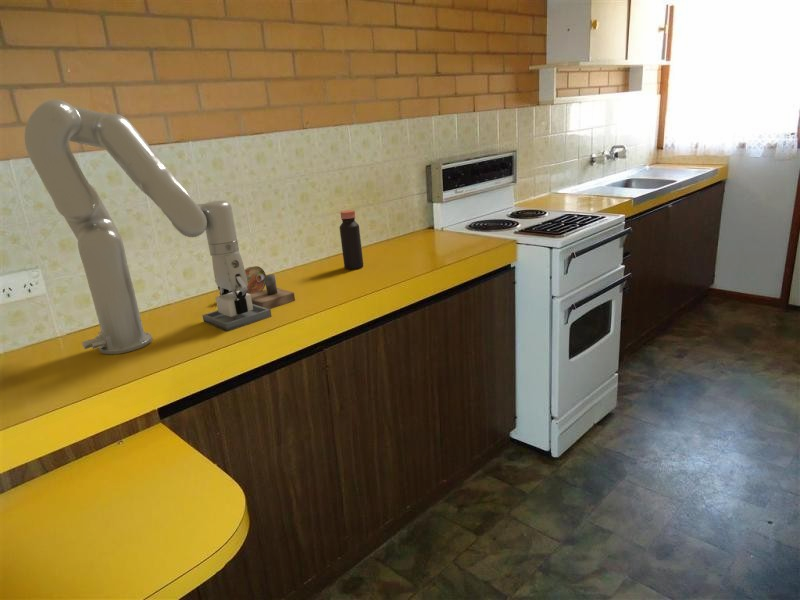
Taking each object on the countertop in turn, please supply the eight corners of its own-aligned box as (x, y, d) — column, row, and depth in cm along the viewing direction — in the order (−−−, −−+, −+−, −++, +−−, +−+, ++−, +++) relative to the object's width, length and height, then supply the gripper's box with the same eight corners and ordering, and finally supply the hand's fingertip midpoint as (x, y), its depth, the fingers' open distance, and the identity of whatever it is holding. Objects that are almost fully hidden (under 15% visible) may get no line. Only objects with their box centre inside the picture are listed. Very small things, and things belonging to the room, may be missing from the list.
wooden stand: (263, 311, 164) (258, 284, 162) (243, 304, 172) (239, 279, 170) (295, 300, 172) (291, 274, 169) (275, 294, 179) (271, 270, 177)
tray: (227, 331, 150) (225, 324, 150) (203, 321, 160) (202, 315, 159) (271, 316, 159) (270, 309, 159) (246, 307, 169) (245, 301, 168)
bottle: (352, 271, 199) (345, 213, 193) (340, 268, 204) (333, 212, 198) (367, 266, 203) (361, 210, 197) (356, 264, 208) (349, 209, 202)
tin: (234, 302, 176) (229, 276, 173) (227, 301, 177) (222, 275, 175) (268, 288, 187) (264, 263, 185) (261, 287, 189) (257, 262, 187)
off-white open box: (253, 309, 159) (250, 294, 157) (230, 316, 154) (227, 301, 153) (240, 305, 164) (237, 290, 162) (218, 312, 159) (215, 297, 158)
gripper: (252, 248, 150) (263, 312, 155) (221, 242, 162) (232, 301, 167) (226, 254, 145) (239, 320, 150) (196, 247, 157) (208, 309, 162)
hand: (235, 310), depth 159 cm, fingers closed on off-white open box, 6 cm apart
